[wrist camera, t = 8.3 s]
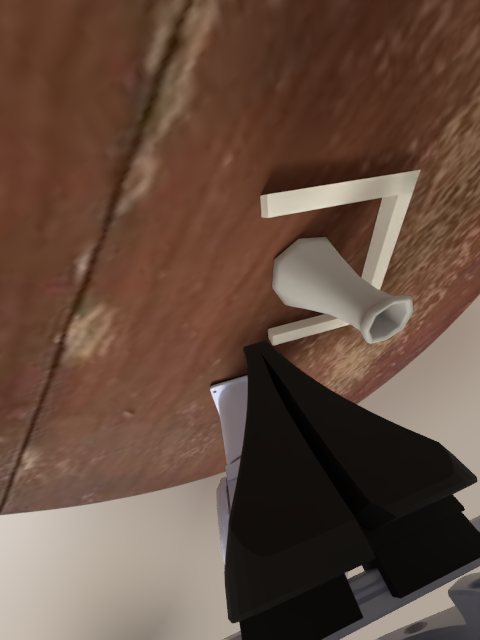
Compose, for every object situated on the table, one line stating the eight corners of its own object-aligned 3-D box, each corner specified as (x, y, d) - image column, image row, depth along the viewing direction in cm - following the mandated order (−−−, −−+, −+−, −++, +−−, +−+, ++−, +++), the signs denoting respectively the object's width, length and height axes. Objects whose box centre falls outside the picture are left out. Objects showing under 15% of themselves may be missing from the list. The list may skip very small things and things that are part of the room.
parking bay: (360, 313, 24) (370, 318, 23) (268, 338, 22) (273, 345, 21) (402, 172, 16) (420, 169, 15) (260, 195, 14) (267, 194, 13)
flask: (331, 223, 17) (469, 235, 8) (333, 288, 21) (427, 339, 13) (262, 253, 17) (333, 297, 8) (278, 312, 21) (336, 380, 13)
